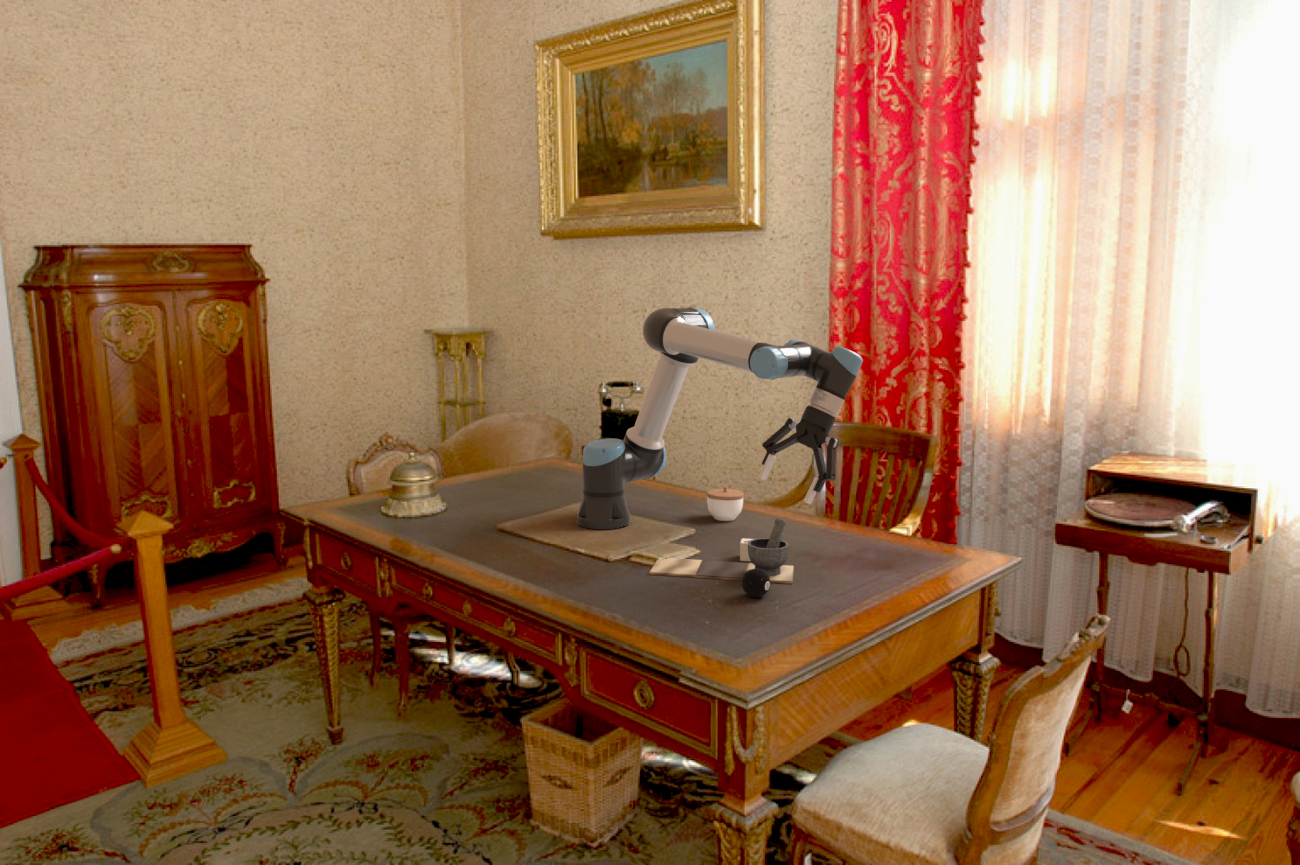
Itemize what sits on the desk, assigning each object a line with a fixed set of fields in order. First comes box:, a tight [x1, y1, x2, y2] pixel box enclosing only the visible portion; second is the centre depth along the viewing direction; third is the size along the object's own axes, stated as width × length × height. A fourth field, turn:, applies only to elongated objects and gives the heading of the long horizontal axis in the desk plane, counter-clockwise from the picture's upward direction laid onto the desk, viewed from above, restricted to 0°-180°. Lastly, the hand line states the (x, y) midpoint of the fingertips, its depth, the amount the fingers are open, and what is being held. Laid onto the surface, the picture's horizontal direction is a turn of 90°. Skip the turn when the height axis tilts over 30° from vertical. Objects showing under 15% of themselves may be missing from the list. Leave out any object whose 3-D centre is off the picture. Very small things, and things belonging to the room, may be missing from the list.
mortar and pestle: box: [748, 518, 790, 576], centre depth 209 cm, size 11×9×12 cm
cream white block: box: [739, 538, 754, 562], centre depth 222 cm, size 4×4×5 cm
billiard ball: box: [741, 569, 771, 598], centre depth 194 cm, size 6×6×6 cm
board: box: [647, 557, 795, 585], centre depth 212 cm, size 33×13×1 cm, turn 79°
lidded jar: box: [706, 486, 745, 522], centre depth 262 cm, size 11×11×9 cm
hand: (783, 491), depth 216 cm, fingers open, 13 cm apart
